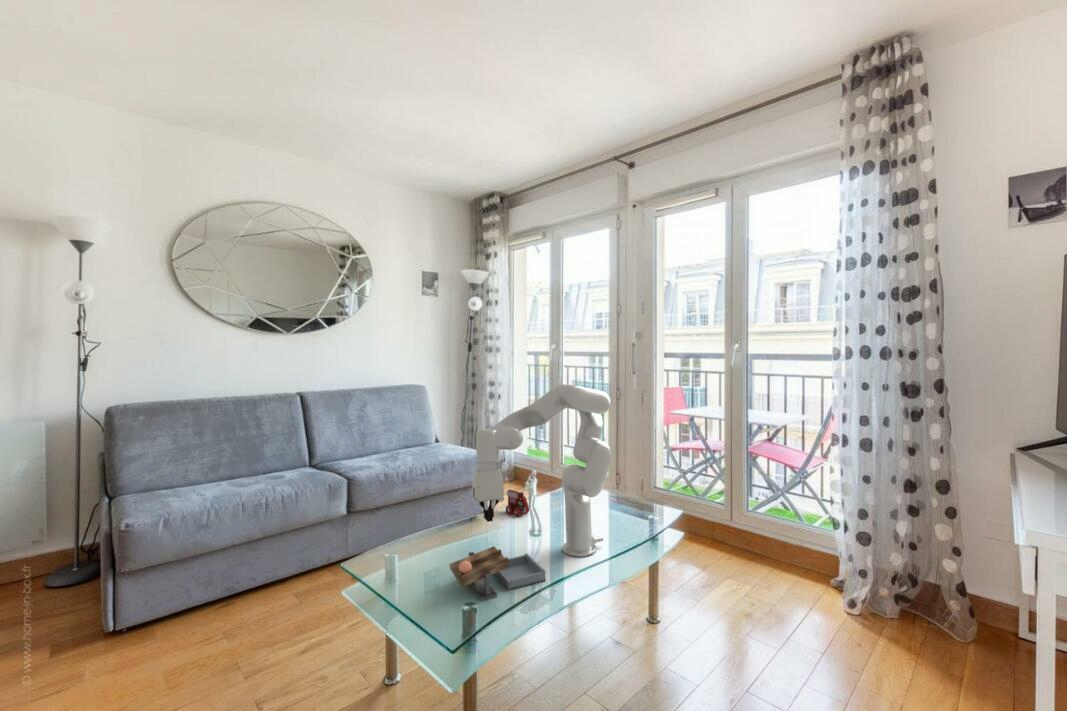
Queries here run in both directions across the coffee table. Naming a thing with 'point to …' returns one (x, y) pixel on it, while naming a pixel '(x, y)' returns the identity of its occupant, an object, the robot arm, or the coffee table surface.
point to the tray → (521, 572)
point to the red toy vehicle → (516, 503)
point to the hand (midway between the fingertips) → (488, 520)
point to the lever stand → (483, 586)
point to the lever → (480, 565)
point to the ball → (465, 567)
